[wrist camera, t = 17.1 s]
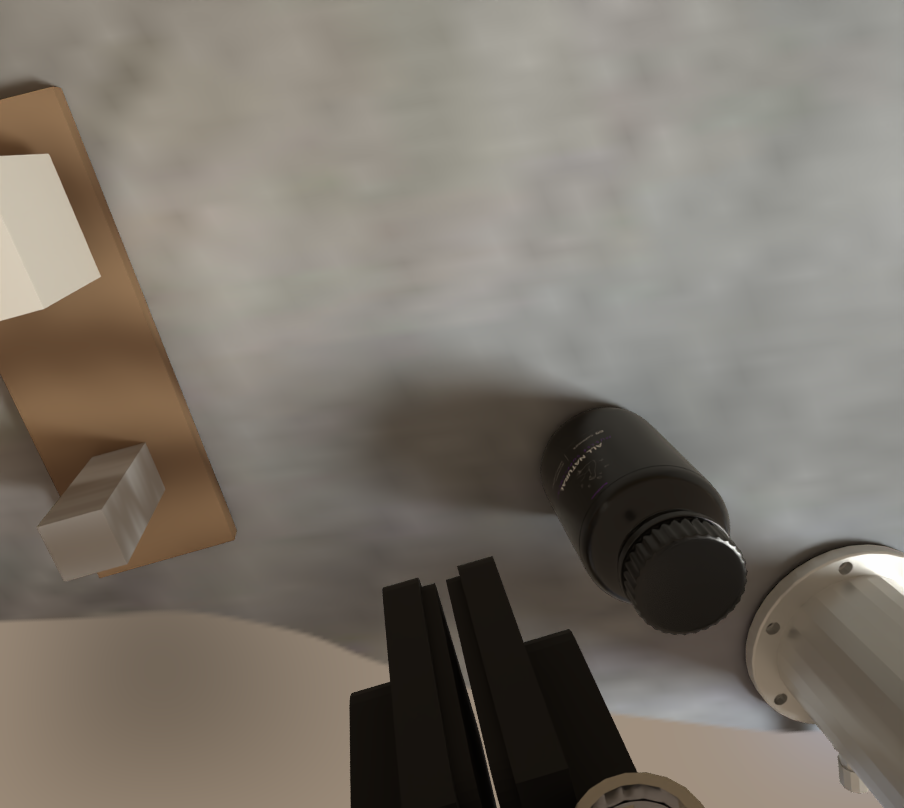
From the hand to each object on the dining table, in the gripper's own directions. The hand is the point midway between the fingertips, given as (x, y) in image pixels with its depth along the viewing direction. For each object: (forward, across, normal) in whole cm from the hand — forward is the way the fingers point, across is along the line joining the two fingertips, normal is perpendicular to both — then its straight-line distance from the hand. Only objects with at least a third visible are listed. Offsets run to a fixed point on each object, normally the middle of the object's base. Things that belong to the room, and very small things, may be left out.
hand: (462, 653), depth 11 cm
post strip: (+27, +14, -1) cm, 31 cm away
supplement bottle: (+27, -9, +12) cm, 31 cm away
